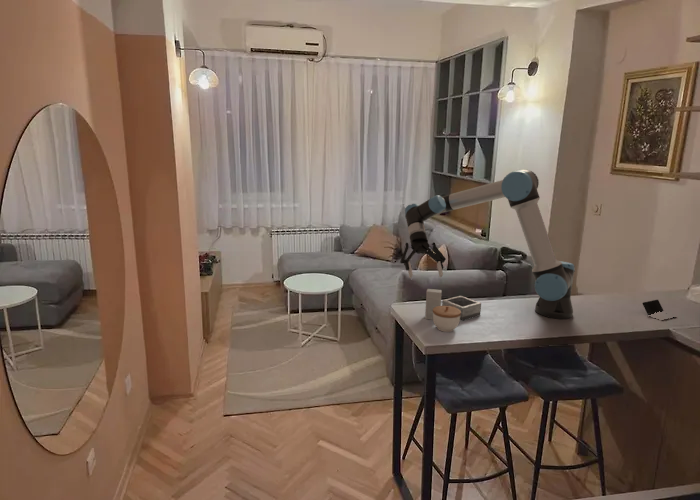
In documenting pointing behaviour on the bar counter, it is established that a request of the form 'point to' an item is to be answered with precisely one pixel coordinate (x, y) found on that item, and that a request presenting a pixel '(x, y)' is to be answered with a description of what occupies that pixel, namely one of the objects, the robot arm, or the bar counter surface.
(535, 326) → the bar counter surface
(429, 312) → the skincare box
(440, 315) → the lidded jar
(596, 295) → the bar counter surface
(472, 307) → the housing
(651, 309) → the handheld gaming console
